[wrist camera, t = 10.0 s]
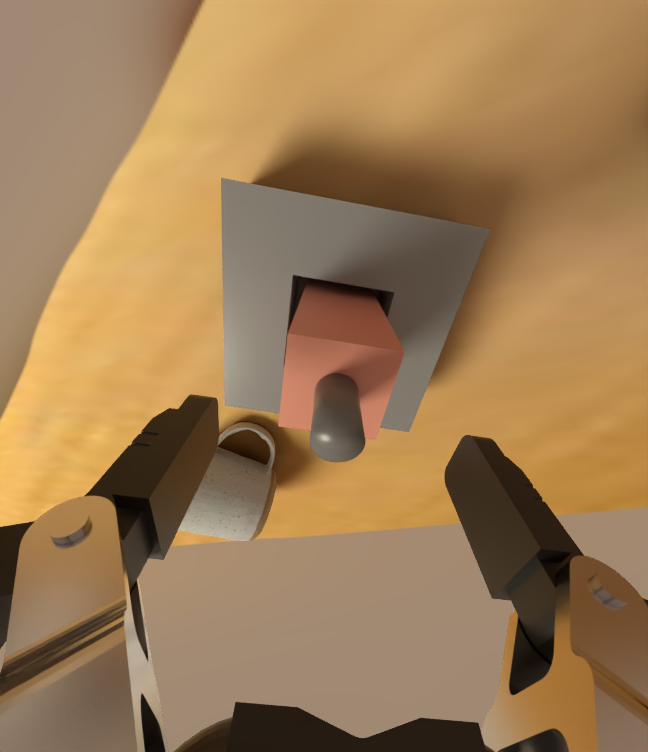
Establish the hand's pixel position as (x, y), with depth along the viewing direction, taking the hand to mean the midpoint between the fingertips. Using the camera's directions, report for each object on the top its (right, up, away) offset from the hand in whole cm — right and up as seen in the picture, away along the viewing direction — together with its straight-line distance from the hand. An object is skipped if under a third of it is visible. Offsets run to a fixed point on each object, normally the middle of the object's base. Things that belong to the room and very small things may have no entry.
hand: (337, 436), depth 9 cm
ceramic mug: (-10, -6, +21) cm, 24 cm away
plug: (0, +7, +12) cm, 14 cm away
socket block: (0, +7, +13) cm, 15 cm away
